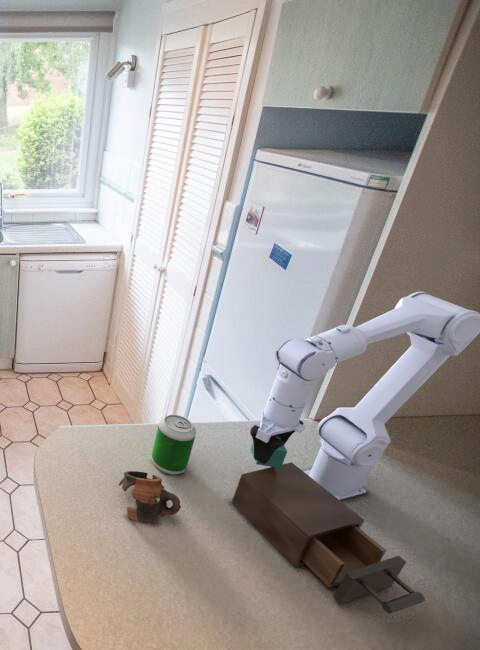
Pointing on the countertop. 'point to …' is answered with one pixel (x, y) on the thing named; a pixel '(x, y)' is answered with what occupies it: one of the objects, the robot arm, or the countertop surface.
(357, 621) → the countertop surface
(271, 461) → the block
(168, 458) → the soda can
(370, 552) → the drawer
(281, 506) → the cabinet
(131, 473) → the pottery mug
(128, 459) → the countertop surface
